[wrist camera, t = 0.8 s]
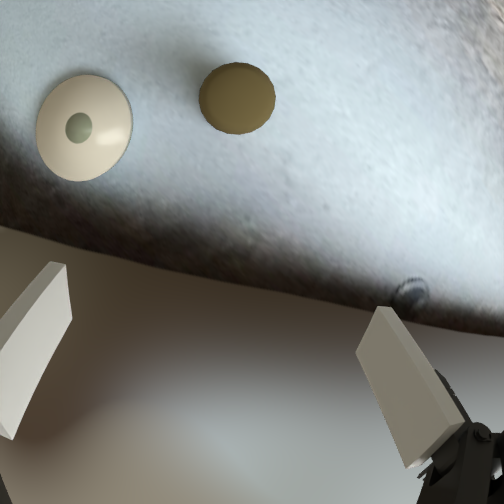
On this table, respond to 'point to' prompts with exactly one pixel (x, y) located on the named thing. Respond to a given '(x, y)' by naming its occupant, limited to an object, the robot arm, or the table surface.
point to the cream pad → (84, 127)
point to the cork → (237, 98)
